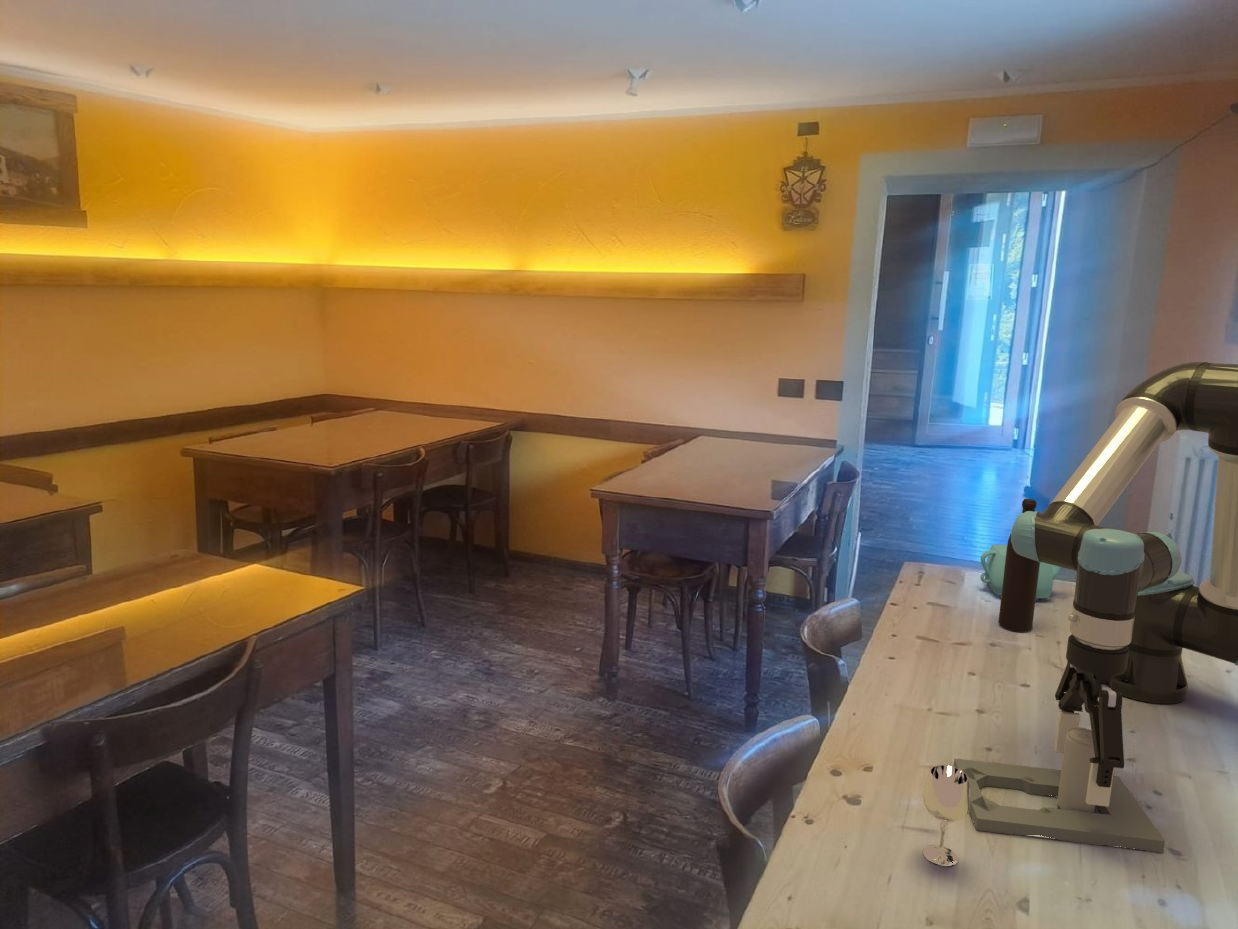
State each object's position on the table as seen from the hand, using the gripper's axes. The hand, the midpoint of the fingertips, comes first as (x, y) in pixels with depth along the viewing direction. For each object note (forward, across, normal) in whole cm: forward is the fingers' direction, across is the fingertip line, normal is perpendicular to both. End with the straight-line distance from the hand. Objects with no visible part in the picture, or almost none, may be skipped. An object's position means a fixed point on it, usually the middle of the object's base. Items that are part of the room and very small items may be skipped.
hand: (1080, 777), depth 122 cm
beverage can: (+6, 0, 0) cm, 6 cm away
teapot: (+6, -98, +18) cm, 100 cm away
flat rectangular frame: (+5, 0, -4) cm, 6 cm away
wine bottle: (+6, -74, +10) cm, 75 cm away
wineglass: (+6, +15, -22) cm, 27 cm away
